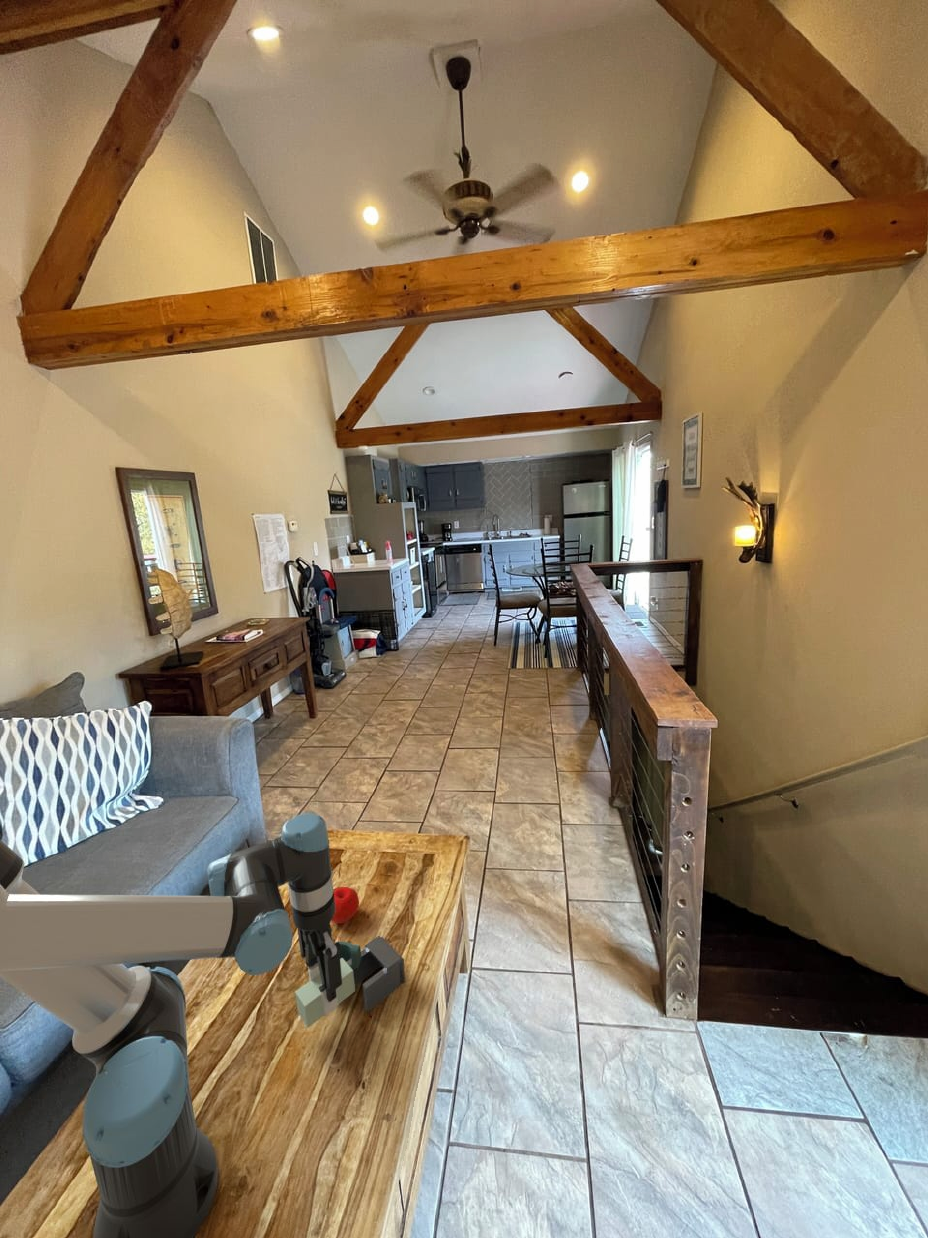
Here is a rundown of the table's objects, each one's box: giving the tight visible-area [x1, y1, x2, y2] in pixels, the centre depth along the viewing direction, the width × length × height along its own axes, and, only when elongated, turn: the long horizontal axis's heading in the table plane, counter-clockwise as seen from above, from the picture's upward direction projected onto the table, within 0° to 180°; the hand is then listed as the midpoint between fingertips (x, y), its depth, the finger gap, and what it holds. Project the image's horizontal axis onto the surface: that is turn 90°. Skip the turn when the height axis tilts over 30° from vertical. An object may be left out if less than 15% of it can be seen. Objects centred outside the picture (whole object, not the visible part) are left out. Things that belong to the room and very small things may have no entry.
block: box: [294, 958, 356, 1029], centre depth 96 cm, size 10×4×5 cm, turn 133°
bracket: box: [333, 941, 362, 984], centre depth 105 cm, size 9×9×9 cm
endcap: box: [346, 935, 406, 1013], centre depth 105 cm, size 9×8×7 cm
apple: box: [331, 886, 360, 924], centre depth 122 cm, size 8×8×7 cm
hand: (324, 1001), depth 97 cm, fingers closed on block, 4 cm apart
